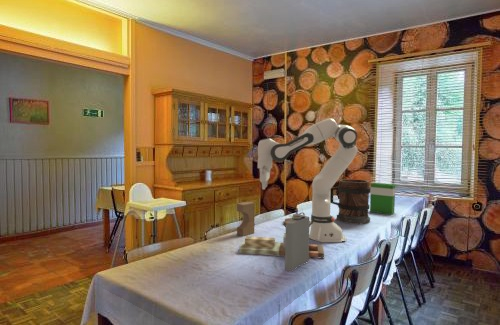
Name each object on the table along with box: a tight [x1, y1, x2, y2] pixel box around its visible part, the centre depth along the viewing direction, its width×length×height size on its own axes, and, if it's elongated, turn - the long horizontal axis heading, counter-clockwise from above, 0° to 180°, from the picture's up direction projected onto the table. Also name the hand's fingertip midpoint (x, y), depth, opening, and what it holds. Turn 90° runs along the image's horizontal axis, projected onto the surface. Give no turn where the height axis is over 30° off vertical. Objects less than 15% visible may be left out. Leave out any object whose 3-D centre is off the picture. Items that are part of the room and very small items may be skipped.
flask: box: [284, 213, 310, 272], centre depth 157 cm, size 17×5×25 cm, turn 140°
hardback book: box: [369, 182, 396, 215], centre depth 276 cm, size 18×7×24 cm, turn 52°
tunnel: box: [282, 232, 286, 249], centre depth 177 cm, size 8×8×6 cm
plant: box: [282, 208, 311, 228], centre depth 237 cm, size 20×20×11 cm
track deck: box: [239, 240, 325, 258], centre depth 178 cm, size 44×14×2 cm, turn 81°
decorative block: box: [236, 201, 256, 237], centre depth 210 cm, size 11×6×20 cm, turn 134°
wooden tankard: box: [330, 178, 371, 225], centre depth 249 cm, size 24×30×30 cm
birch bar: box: [244, 235, 276, 248], centre depth 180 cm, size 16×4×4 cm, turn 81°
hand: (264, 188), depth 199 cm, fingers open, 8 cm apart
